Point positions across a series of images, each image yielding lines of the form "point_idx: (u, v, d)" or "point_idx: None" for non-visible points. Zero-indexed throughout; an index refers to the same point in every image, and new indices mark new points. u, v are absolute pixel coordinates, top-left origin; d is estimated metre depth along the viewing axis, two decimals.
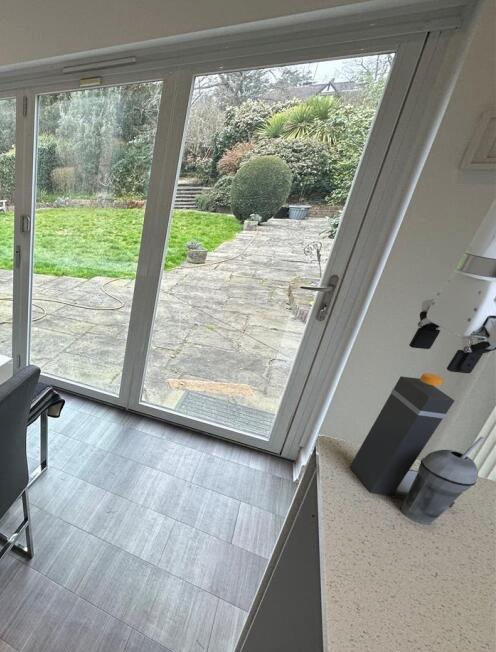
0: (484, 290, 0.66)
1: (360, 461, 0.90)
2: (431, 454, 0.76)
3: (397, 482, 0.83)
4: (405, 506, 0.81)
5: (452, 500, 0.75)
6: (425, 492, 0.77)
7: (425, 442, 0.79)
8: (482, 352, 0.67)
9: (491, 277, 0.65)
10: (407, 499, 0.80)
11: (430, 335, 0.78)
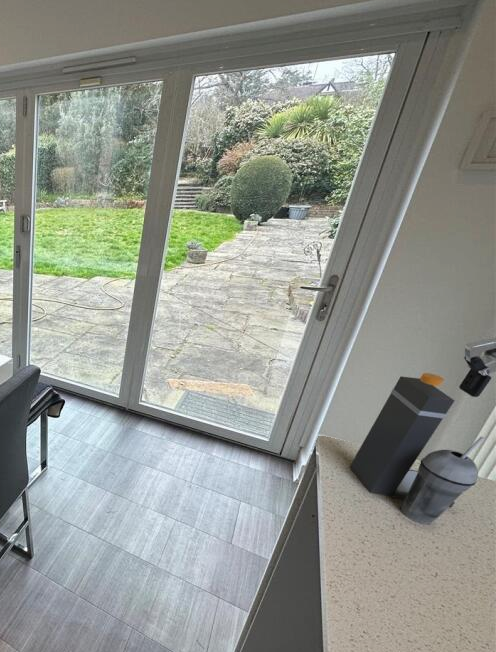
0: None
1: (360, 461, 0.90)
2: (431, 454, 0.76)
3: (397, 482, 0.83)
4: (405, 506, 0.81)
5: (452, 500, 0.75)
6: (425, 492, 0.77)
7: (425, 442, 0.79)
8: (474, 369, 0.67)
9: None
10: (407, 499, 0.80)
11: None
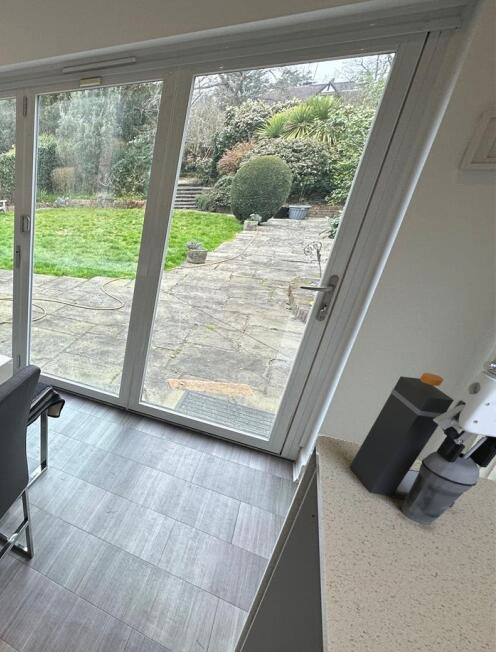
0: None
1: (360, 461, 0.90)
2: (432, 454, 0.76)
3: (397, 482, 0.83)
4: (405, 506, 0.81)
5: (453, 500, 0.75)
6: (426, 492, 0.77)
7: (425, 442, 0.79)
8: (449, 439, 0.72)
9: (486, 368, 0.68)
10: (407, 499, 0.80)
11: (484, 450, 0.72)
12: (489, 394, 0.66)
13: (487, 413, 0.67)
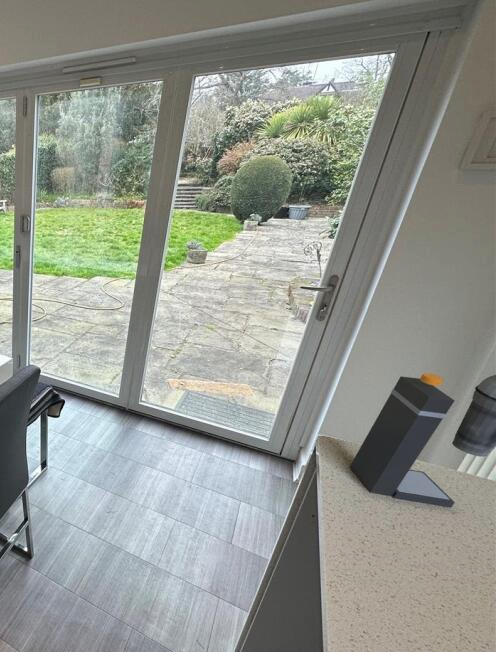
0: None
1: (360, 461, 0.90)
2: None
3: (397, 482, 0.83)
4: (483, 450, 0.73)
5: None
6: None
7: (425, 442, 0.79)
8: None
9: None
10: (487, 443, 0.72)
11: None
12: None
13: None
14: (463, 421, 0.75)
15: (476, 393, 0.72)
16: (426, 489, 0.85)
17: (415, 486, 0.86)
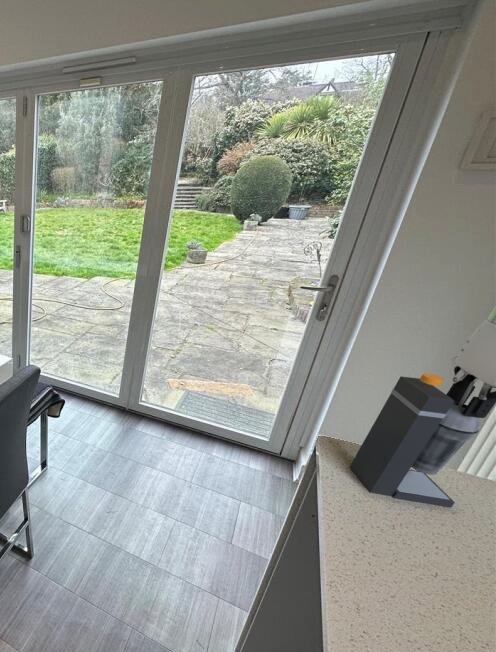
0: None
1: (360, 461, 0.90)
2: (458, 419, 0.77)
3: (397, 482, 0.83)
4: (432, 469, 0.82)
5: None
6: (458, 449, 0.79)
7: (425, 442, 0.79)
8: (494, 401, 0.73)
9: None
10: (435, 463, 0.81)
11: (465, 391, 0.79)
12: None
13: None
14: None
15: None
16: (426, 489, 0.85)
17: (415, 486, 0.86)
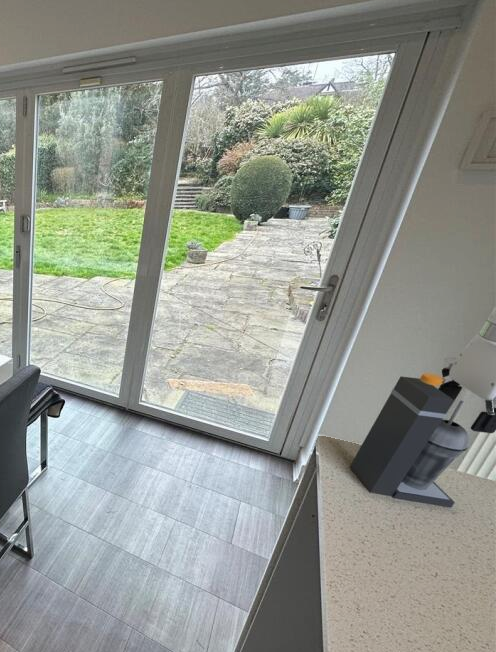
0: None
1: (360, 461, 0.90)
2: (448, 437, 0.79)
3: (397, 482, 0.83)
4: (422, 484, 0.84)
5: None
6: (447, 465, 0.81)
7: (425, 442, 0.79)
8: None
9: None
10: (425, 478, 0.83)
11: (452, 391, 0.81)
12: None
13: None
14: None
15: None
16: (426, 489, 0.85)
17: None
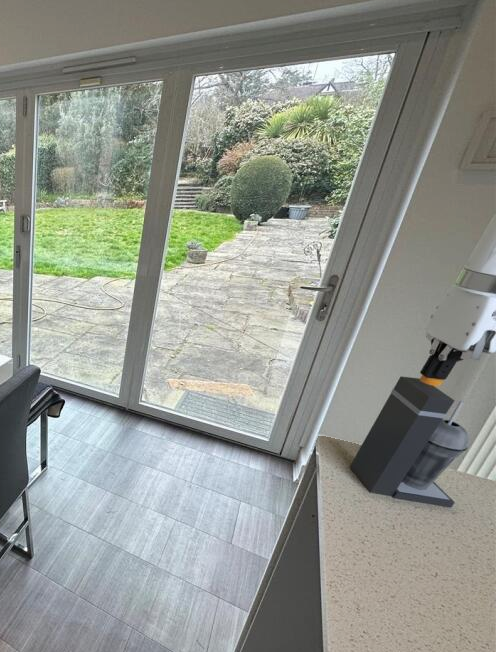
0: (482, 305, 0.67)
1: (360, 461, 0.90)
2: (447, 437, 0.79)
3: (397, 482, 0.83)
4: (422, 484, 0.84)
5: None
6: (447, 465, 0.81)
7: (425, 442, 0.79)
8: (452, 362, 0.74)
9: (489, 293, 0.67)
10: (425, 478, 0.83)
11: None
12: None
13: None
14: None
15: None
16: (426, 489, 0.85)
17: None
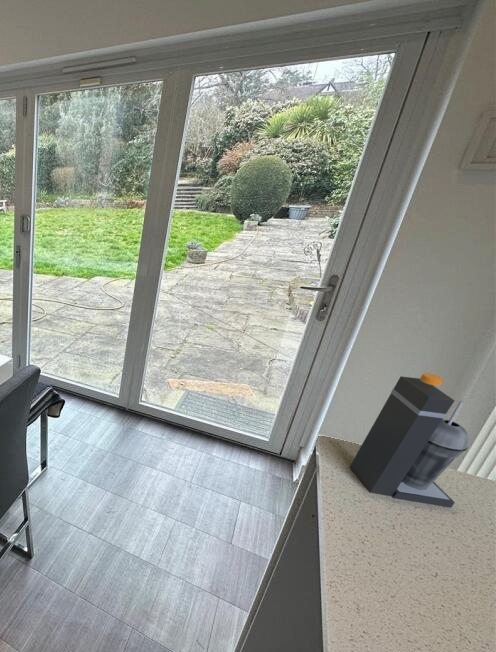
0: None
1: (360, 461, 0.90)
2: (447, 437, 0.79)
3: (397, 482, 0.83)
4: (422, 484, 0.84)
5: None
6: (447, 465, 0.81)
7: (425, 442, 0.79)
8: None
9: None
10: (425, 478, 0.83)
11: None
12: None
13: None
14: None
15: None
16: (426, 489, 0.85)
17: None
